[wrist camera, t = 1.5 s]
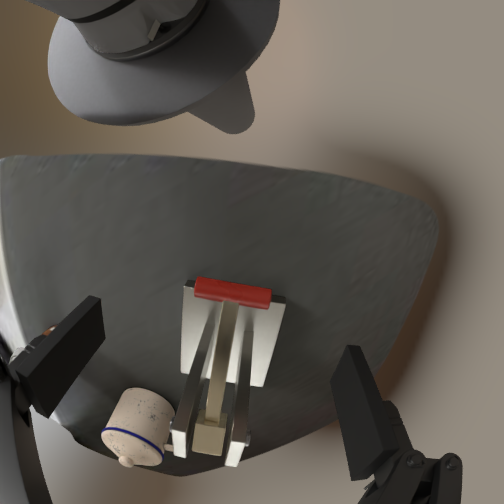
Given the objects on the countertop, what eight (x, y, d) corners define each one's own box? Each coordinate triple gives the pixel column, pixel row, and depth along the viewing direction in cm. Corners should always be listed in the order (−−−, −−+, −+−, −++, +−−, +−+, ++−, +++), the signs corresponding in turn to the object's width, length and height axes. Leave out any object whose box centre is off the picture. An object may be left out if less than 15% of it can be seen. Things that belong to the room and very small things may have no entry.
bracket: (187, 279, 27) (128, 384, 14) (285, 296, 28) (298, 416, 14) (183, 364, 32) (148, 464, 18) (263, 378, 32) (259, 484, 18)
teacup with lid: (129, 414, 37) (106, 467, 26) (115, 379, 34) (83, 437, 23) (197, 429, 37) (184, 489, 26) (193, 395, 34) (174, 465, 23)
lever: (200, 276, 20) (194, 276, 17) (269, 288, 20) (273, 289, 17) (179, 431, 18) (173, 446, 16) (240, 442, 18) (239, 459, 16)
